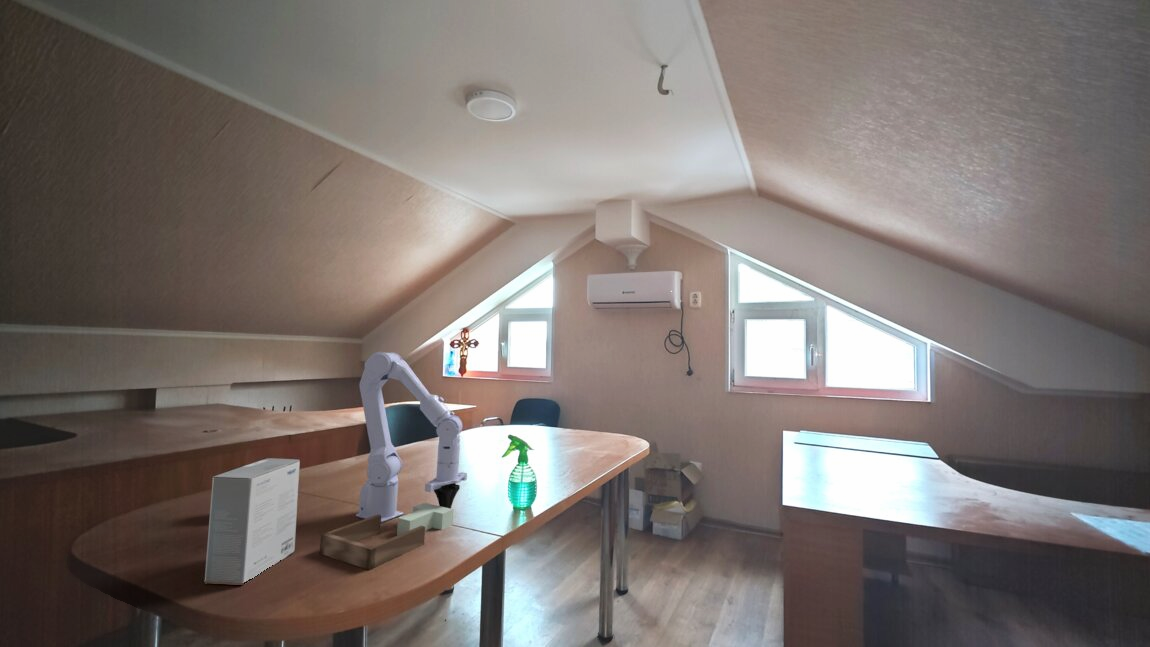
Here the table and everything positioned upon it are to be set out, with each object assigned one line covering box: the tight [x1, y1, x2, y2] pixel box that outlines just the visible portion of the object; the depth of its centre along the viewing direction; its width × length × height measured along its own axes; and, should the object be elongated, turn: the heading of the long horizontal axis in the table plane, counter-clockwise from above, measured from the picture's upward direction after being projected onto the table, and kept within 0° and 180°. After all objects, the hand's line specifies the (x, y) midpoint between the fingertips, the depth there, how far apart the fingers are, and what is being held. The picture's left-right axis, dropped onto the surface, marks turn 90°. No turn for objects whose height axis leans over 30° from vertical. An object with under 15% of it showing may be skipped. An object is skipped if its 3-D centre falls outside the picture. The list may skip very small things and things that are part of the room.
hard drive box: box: [204, 457, 301, 583], centre depth 93 cm, size 16×8×20 cm, turn 178°
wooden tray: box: [319, 515, 426, 571], centre depth 104 cm, size 15×15×4 cm
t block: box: [396, 502, 454, 536], centre depth 117 cm, size 10×12×4 cm
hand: (445, 512), depth 125 cm, fingers closed
